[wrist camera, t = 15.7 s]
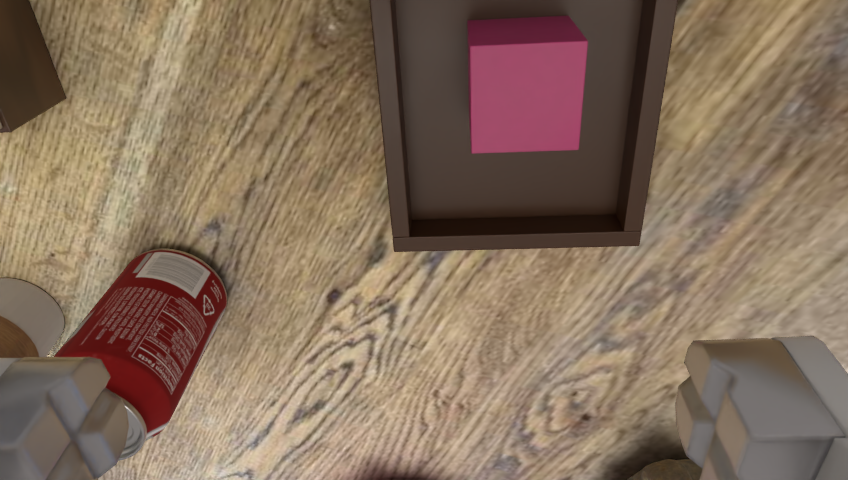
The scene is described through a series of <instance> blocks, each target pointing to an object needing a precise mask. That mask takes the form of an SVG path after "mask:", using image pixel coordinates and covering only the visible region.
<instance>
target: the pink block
mask: <svg viewBox="0 0 848 480" xmlns="http://www.w3.org/2000/svg"><path fill="white" fill-rule="evenodd" d="M467 31H468V92H469V125H470V141H471V153H472V154H474V153H503V152H532V151H562V150H578V149H579V141H580V130H581V118H582V107H583V95H584V84H585V73H586V61H587V50H588V40H587V39H586V38H585V36H584V35H583V34H582V32H581V31H580V30H579V28H578V27H577V26H576V25H575V23H574V22H573V21H572V19H571V18H570V17H569V16H550V17H529V18H509V19H488V20H468V21H467Z"/></svg>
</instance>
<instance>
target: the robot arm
mask: <svg viewBox="0 0 848 480" xmlns="http://www.w3.org/2000/svg"><path fill="white" fill-rule="evenodd" d="M684 363H685V365H686V367H687V370H688V372H689V374H690V377H689V378H688V379H686V380H685V381H684V382H683V383H682V384H681V385H679V387H678V392H677V398H676V403H675V407H676V424H677V428H678V433H679V437H680V440H681V443H682V446H683V448H684V451H685V454H686V456H687V457H688V458H690V459H691V460H692V461H693V462H695V463H696V464H697V465H698V466H700V467H701V468H702V469H703V470H702V473H701V477H700V480H848V373H847V372H846V371H845V369H844V368H843V367H842V366H841V364H840V363H839V362H838V360H837V359H836V358H835V357H834V355H833V354H832V353H831V351H830V350H829V349H828V348H827V346H826V345H825V344H824V343H823V342H822V341H821V340H819V339H818V338H816V337H814V336H799V337H774V338H771V339H769V338H755V339H727V340H698V341H693V342H692V343H691V345H690V346H689V347H688V349H687V353H686V357H685V361H684ZM109 379H110V375H109V373H108V371H107V369H106V367H105V366H104V364H103V362H102V360H101V359H96V358H92V357H24V358H0V480H98V478H99V477H101V476H102V475H103V474H104V473H106V472H107V471H108V470H109V469H111V468H112V467H113V466H115V465H116V464H117V462H118V460H119V458H120V456H121V454H122V452H123V450H124V448H125V445H126V440H127V434H128V429H129V421H128V414H127V410H126V407H125V405H124V403H123V401H122V399H121V398H120V397H119V396H117V395H116V394H114V393H113V392H111V391H110V390H108V389H107V388H106V385H107V383H108V381H109Z"/></svg>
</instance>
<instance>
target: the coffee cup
mask: <svg viewBox="0 0 848 480" xmlns="http://www.w3.org/2000/svg"><path fill="white" fill-rule="evenodd" d="M64 324H65V323H64V316H63V313H62V311H61V309H60V307H59V306H58V304H57V303H56V302H55V301H54V299H53V298H52V297H51V296H49V295H48V294H47V293H46V292H45V291H43V290H42V289H40V288H39V287H37V286H35V285H33V284H31V283H28V282H25V281H22V280H18V279H13V278H0V358H24V357H46V356H47V354H48V353H49V351H50V350H51V349H52V347H53V346H54V344H55V343H56V341H57V340H58V339H59V337H60V335H61V334H62V332H63V330H64Z"/></svg>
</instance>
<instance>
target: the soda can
mask: <svg viewBox="0 0 848 480" xmlns="http://www.w3.org/2000/svg"><path fill="white" fill-rule="evenodd" d="M226 307H227V292H226V289H225V286H224V284H223V282H222V280H221V278H220V277H219V276H218V274H217V273H216V272H215V271H214V270H213V269H212V268H211V267H210V266H209V265H208V264H207V263H205V262H204V261H202V260H201V259H199V258H197V257H195V256H193V255H191V254H189V253H186V252H183V251H179V250H174V249H153V250H149V251H146V252H144V253H141V254H140V255H138V256H136V257H135V258H134V259H133V260H132V261H131V262H130V263H129V264H128V266H127V267H126V268H125V269H124V271H123V272H122V273H121V274H120V276H119V277H118V278H117V279H116V280H115V282H114V283H113V284H112V285H111V287H110V288H109V289H108V290H107V292H106V293H105V294H104V295H103V297H102V298H101V299H100V300H99V302H98V303H97V304H96V305H95V306H94V308H93V309H92V310H91V311H90V313H89V314H88V315H87V316H86V318H85V319H84V320H83V321H82V323H81V324H80V325H79V326H78V328H77V329H76V330H75V331H74V332H73V334H72V335H71V336H70V337H69V339H68V340H67V341H66V342H65V344H64V345H63V346H62V347H61V349H60V350H59V351H58V352H57V354H56V355H55V356H54V357H92V358H96V359H101V360H102V362H103V364H104V366H105V367H106V369H107V371H108V373H109V375H110V379H109V381H108V383H107V385H106V388H107V389H108V390H110V391H111V392H113V393H114V394H116V395H117V396H119V397H120V398H121V399H122V401H123V403H124V405H125V407H126V410H127V414H128V421H129V429H128V434H127V440H126V445H125V448H124V450H123V452H122V454H121V456H120V458H119V460H123V459H126V458H129V457H131V456H133V455H134V454H136V453H137V452H138V451H139V450H140V449H141V448H142V446H143V444H144V442H145V441H146V440H148V439H150V438H152V437H154V436H156V435H157V434H159V433H160V432H161V431H162V430H163V429H164V428H165V427H166V426H167V424H168V423H169V421H170V419H171V417H172V415H173V413H174V411H175V409H176V407H177V405H178V403H179V401H180V399H181V397H182V395H183V393H184V391H185V389H186V387H187V385H188V383H189V381H190V379H191V377H192V375H193V373H194V371H195V369H196V367H197V366H198V364H199V362H200V360H201V358H202V356H203V354H204V352H205V350H206V348H207V346H208V344H209V342H210V340H211V338H212V336H213V334H214V332H215V330H216V328H217V326H218V324H219V322H220V320H221V318H222V316H223V314H224V312H225V310H226ZM119 460H118V461H119Z"/></svg>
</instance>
